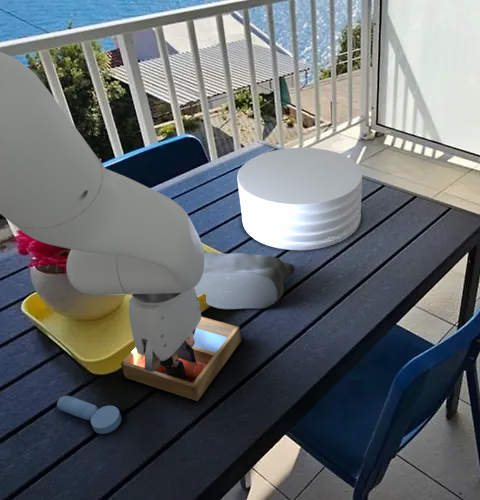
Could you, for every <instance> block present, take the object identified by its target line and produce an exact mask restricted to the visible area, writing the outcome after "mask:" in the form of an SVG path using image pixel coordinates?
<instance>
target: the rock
mask: <svg viewBox="0 0 480 500" xmlns="http://www.w3.org/2000/svg"><path fill="white" fill-rule="evenodd" d="M204 259H205V264H204V271H203V275H202V277H201V280H200V281H199V283H198V284H197V285H196V286H195V287H194V288H195V291H196V294H197V297H199V295H201V294H205V295H206V303H207V304H206V303H205V304H206V305H208V306H210V307H213V308H216V309H222V310H238V309H239V310H241V309H267V308H269V307H271V306H272V305H274V304H276V303H277V302H278V301H279V300H280V299H281V298H282V296H283V295H284V292H285V288H284V285H285V284H286V283H287V281H288V279H290V276H293V274H294V273H295V271H296V267H295V265H294V264H293V263H289V262H284V261H282V259H280V258H279V257H276V256H271V255H264V254H248V253H242V252H233V253H226V252H225V253H224V252H223V253H222V252H219V253H218V252H211V251H204Z"/></svg>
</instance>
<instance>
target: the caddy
mask: <svg viewBox="0 0 480 500" xmlns="http://www.w3.org/2000/svg"><path fill="white" fill-rule="evenodd" d="M194 340H195V344H194V346H193V347H192V348H193V350H194V354H195V359H196V363H197V364H200V365H202V366H203V367H204V369H203V371H202V372H201V373H200V374H199V376H198V377H197V378H192V377H189V376H186V379H185V380H181V379H178V378H175V377H172V376H169V375H167V373H166V370H165V371H163V372H160V373H159V372H156V371H154V372H152V371H148V370H145V354H144V355H140V354H138V352H137V350H136V347H134V349H132V351H130V353H129V354H128V355H127V356H126V357H125V358H124V359H123V360H122V361H121V362H120V367H121V369H122V371H123V374H124V377H125V378H127V379H128V380H132V381H134V382H138V383H141V384H144V385H146V386H149V387H150V386H151V387H153V388H156V389H158V390H159V389H160V390H163V391H166V392H168V393H171V394H175V395H177V396H181V397H184V398H187V399H190V400H193V401H196V402H198V401H199V400H200V398H201V397H202V396H203V394H204V393H205V392H206V390H207V389H208V387H209V386H210V385H211V383H212V382H213V381H214V379H215V378H216V377H217V375H218V373H219V372H220V371H221V370H222V368H223V367H224V366H225V364H226V363H227V361H228V360H229V358H230V357H231V356H232V355H233V353H234V351H236V349H237V348H238V346H239V345H240V343H241V342H242V335H241V329H240V326H238V325H233V324H229V323H227V322H223V321H220V320H219V321H218V320H215V319H213V318H208V317H205V316H201V320H200V322H199V324H198V325H197V327H196V330H195V333H194Z"/></svg>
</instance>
